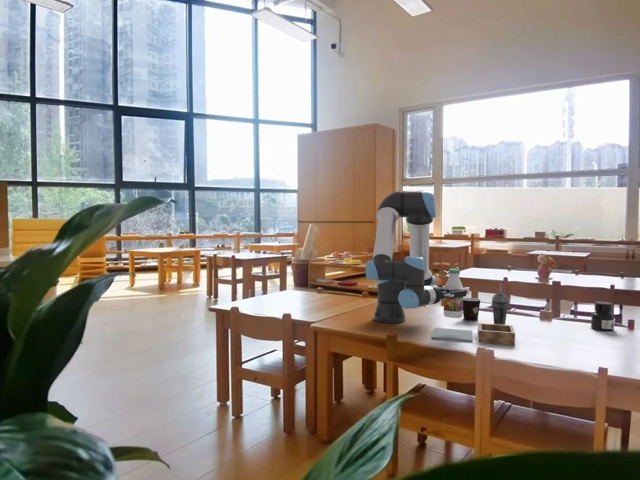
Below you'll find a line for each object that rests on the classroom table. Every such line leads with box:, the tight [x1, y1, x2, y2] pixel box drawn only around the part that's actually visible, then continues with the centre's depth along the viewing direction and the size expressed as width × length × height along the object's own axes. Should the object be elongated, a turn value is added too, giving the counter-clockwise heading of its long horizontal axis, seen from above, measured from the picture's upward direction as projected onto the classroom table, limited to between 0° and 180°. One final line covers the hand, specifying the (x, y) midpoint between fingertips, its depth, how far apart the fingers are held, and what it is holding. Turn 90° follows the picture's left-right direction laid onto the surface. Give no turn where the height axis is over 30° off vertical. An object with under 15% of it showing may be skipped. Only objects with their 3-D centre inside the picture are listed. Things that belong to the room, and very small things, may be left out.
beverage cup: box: [491, 283, 509, 325], centre depth 214 cm, size 7×7×20 cm
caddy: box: [477, 322, 516, 347], centre depth 192 cm, size 13×13×5 cm
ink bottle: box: [590, 301, 615, 332], centre depth 211 cm, size 10×9×12 cm
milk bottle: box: [443, 268, 464, 319], centre depth 197 cm, size 8×8×20 cm
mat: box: [431, 327, 474, 343], centre depth 198 cm, size 16×16×1 cm
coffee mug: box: [462, 297, 481, 322], centre depth 228 cm, size 12×9×10 cm
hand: (459, 289), depth 200 cm, fingers closed on milk bottle, 7 cm apart
